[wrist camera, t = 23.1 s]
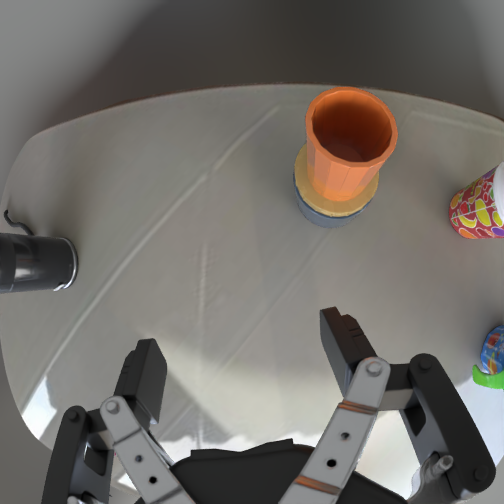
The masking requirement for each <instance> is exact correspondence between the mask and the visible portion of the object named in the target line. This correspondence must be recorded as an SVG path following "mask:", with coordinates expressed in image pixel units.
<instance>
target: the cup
mask: <svg viewBox="0 0 504 504" xmlns="http://www.w3.org/2000/svg"><path fill="white" fill-rule="evenodd" d="M305 126H306V152H307V173H308V178H309V181H310V183H311V185H312V186H313V188H314V189H315V190H316V191H317V192H318V193H319V194H320V195H321V196H323V197H325V198H327V199H329V200H333V201H348V200H351V199H353V198H355V197H357V196H358V195H360V194H361V192H362V191H363V190H364V189H365V188H366V187H367V185H368V184H369V183H370V181H371V180H372V179H373V177H374V176H375V175H376V174H377V172H378V171H379V170H380V168H381V167H382V166H383V164H384V163H385V162H386V160H387V159H388V158H389V156H390V155H391V154H392V152H393V151H394V149H395V146H396V141H397V137H398V131H397V126H396V122H395V118H394V116H393V115H392V113H391V112H390V110H389V109H388V107H387V106H386V104H385V103H384V102H382V101H381V100H380V99H378V98H377V97H376V96H374V95H373V94H372V93H370V92H367V91H364V90H361V89H358V88H355V87H335V88H332V89H330V90H327V91H324V92H322V93H320V94H319V95H318V96H317V97H316V98H315V99H314V100H313V101H312V102H311V103H310V105H309V108H308V111H307V113H306V116H305Z"/></svg>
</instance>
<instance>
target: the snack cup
mask: <svg viewBox="0 0 504 504" xmlns="http://www.w3.org/2000/svg"><path fill="white" fill-rule="evenodd" d="M481 360H482V364H483V366H484V368H485V369H486V370H487V371H488V372H489V373H490V374H487V373H484V372H481V371H480V369H479V368H478V366H477V365H474V366H473V380H474V382H475V383H476V384H479V385H482V386H485V387H489V388H494V389H503V390H504V325H502V326H498V327H497V328H495V329H494V330H493V331H492V332H490V333H489V334H488V335H487V339H486V340H485V343H484V345H483V349H482V353H481Z"/></svg>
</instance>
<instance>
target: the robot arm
mask: <svg viewBox="0 0 504 504" xmlns="http://www.w3.org/2000/svg"><path fill="white" fill-rule="evenodd" d="M7 213H8V210H6V211H5V212H4V218H5V220H6V221H7V222H8V224H9V225H10V226H12V227H21V228H23V229H24V230H25V231H26V233H27V234H28V235H20V234H10V233H0V294H1V293H12V292H24V291H36V290H47V289H54V290H53V291H56V290H58V289H65V288H68V287H70V286H71V285H72V284H73V282H74V280H75V278H76V275H77V270H78V258H77V253H76V250H75V247H74V245H73V244H72V243H71V241H69V240H68V239H66V238H51V237H41V236H33V235H32V233H31V231H30V230H29V229H28V227H27V226H26V225H25V224H23V223H21V222H17V223H13V222H12V221H11V220H10V219H9V218H8V216H7ZM320 334H321V340H322V344H323V347H324V350H325V352H326V355H327V357H328V360H329V362H330V365H331V367H332V370H333V372H334V375H335V377H336V380H337V382H338V385H339V388H340V390H341V393H342V395H343V397H344V399H343V401H342V402H341V403H339V404H338V406H337V407H336V409H335V411H334V413H333V415H332V417H331V419H330V421H329V423H328V425H327V427H326V429H325V431H324V433H323V435H322V437H321V438H320V440H319V442H318V444H317V446H316V447H312V446H308V445H302V444H293V439H292V438H290V439H285V440H280V441H274V442H268V443H265V444H262V445H259V446H257V447H254V448H251V449H248V450H245V451H242V452H237V451H228V450H221V449H199V450H191V456H190V457H187V458H184V459H182V460H180V461H178V462H176V463H174V461H173V460H172V459H171V458H170V457H169V456H168V454H167V453H166V452H165V450H164V449H163V448H162V446H161V445H160V444H159V442H158V441H157V439H156V438H155V436H154V435H153V434H152V432H151V431H150V430H149V427H150V424H158V423H159V416H160V410H161V404H162V398H163V392H164V386H165V380H166V375H167V363H166V360H165V358H164V356H163V354H162V352H161V350H160V348H159V346H158V344H157V342H156V340H155V339H154V338H152V339H143V340H139V341H138V343H137V346H136V349H135V350H134V351H131V352H130V353H129V355H128V356H127V357H126V358H125V361H124V364H123V367H122V370H121V374H120V376H119V379H118V382H117V385H116V388H115V392H114V395H113V396H111V397H109V398H107V399H106V400H105V401H104V402H103V403H102V404H101V407H100V408H99V409H96V410H92V411H88V412H86V411H85V409H84V408H83V407H81V406H72V407H70V408H69V409H68V410H67V411H66V412H65V413H64V415H63V418H62V421H61V425H60V428H59V431H58V434H57V438H56V441H55V445H54V449H53V453H52V456H51V460H50V464H49V468H48V472H47V477H46V481H45V486H44V491H43V497H42V502H41V504H108V501H109V491H110V481H111V473H112V465H113V458H114V451H115V453H116V455H117V456H118V458H119V460H120V462H121V464H122V466H123V467H124V469H125V471H126V473H127V474H128V476H129V478H130V479H131V481H132V483H133V484H134V486H135V487H136V489H137V491H138V492H139V494H140V495H141V497H140V498H139V499H138V500H137V501H136V503H134V504H462V503H464V502H466V501H468V500H469V499H471V498H473V497H474V496H476V495H478V494H479V493H481V492H482V491H484V490H485V489H487V488H488V487H489V486H490V485H491V484H492V482H493V480H494V478H495V475H496V467H495V464H494V462H493V460H492V457H491V455H490V453H489V451H488V449H487V447H486V445H485V443H484V441H483V439H482V436H481V434H480V433H479V431H478V429H477V427H476V425H475V423H474V421H473V419H472V417H471V415H470V413H469V412H468V410H467V408H466V406H465V404H464V403H463V401H462V399H461V397H460V396H459V394H458V392H457V390H456V389H455V387H454V385H453V384H452V382H451V380H450V379H449V377H448V375H447V374H446V372H445V371H444V369H443V367H442V366H441V364H440V363H439V361H438V360H437V358H436V357H434V356H433V355H430V354H426V353H423V354H418V355H416V356H414V357H413V358H412V359H411V361H410V363H408V364H389V363H388V362H387V361H386V360H384V359H382V358H380V357H378V356H377V355H376V353H375V351H374V349H373V348H372V346H371V344H370V342H369V341H368V339H367V337H366V336H365V335H364V332H363V331H362V329H361V328H360V326H359V324H358V322H357V321H356V319H354V318H353V317H351V316H350V315H348V314H347V315H343V316H341V315H340V313H339V311H338V309H337V308H336V307H331V308H326V309H322V310H320ZM387 410H399V412H400V414H401V417H402V419H403V422H404V424H405V427H406V429H407V432H408V434H409V437H410V439H411V442H412V444H413V447H414V450H415V452H416V455H417V458H418V460H419V463H420V467H419V468H418V469H417V470H416V471H415V473H414V474H413V477H412V492H411V495H410V497H409V498H408V499H407V500H405V499H404V498H403V497H402V496H400V495H399V494H397V493H395V492H393V491H391V490H389V489H387V488H385V487H383V486H381V485H379V484H377V483H376V482H374V481H372V480H370V479H368V478H367V477H365V476H363V475H361V474H360V473H358V472H356V471H355V468H356V466H357V464H358V462H359V460H360V458H361V455H362V453H363V451H364V448H365V446H366V443H367V441H368V438H369V436H370V433H371V431H372V428H373V426H374V423H375V420H376V418H377V415H378V412H379V411H387ZM86 445H87V450H86V455H85V460H84V453H85V448H86Z"/></svg>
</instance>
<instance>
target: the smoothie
mask: <svg viewBox="0 0 504 504" xmlns="http://www.w3.org/2000/svg"><path fill="white" fill-rule="evenodd" d="M449 218H450V222H451V224H452V226H453V228H454V229H455V230H456V231H457V232H458V233H459V234H460V235H461V236H463V237H465V238H468V239H473V238H504V161H502V162H501V163H500V165H498V166H496V167H495V168H494V169H492V170H491V171H489V172H488V173H486V174H485V175H483V176H482V177H480V178H479V179H477V180H476V181H474V182H473V183H471V184H470V185H468V186H467V187H465V188H464V189H462V190H461V191H459V192H457V193H456V194H455V195H454V197H453V198H452V201H451V203H450V207H449Z"/></svg>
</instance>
